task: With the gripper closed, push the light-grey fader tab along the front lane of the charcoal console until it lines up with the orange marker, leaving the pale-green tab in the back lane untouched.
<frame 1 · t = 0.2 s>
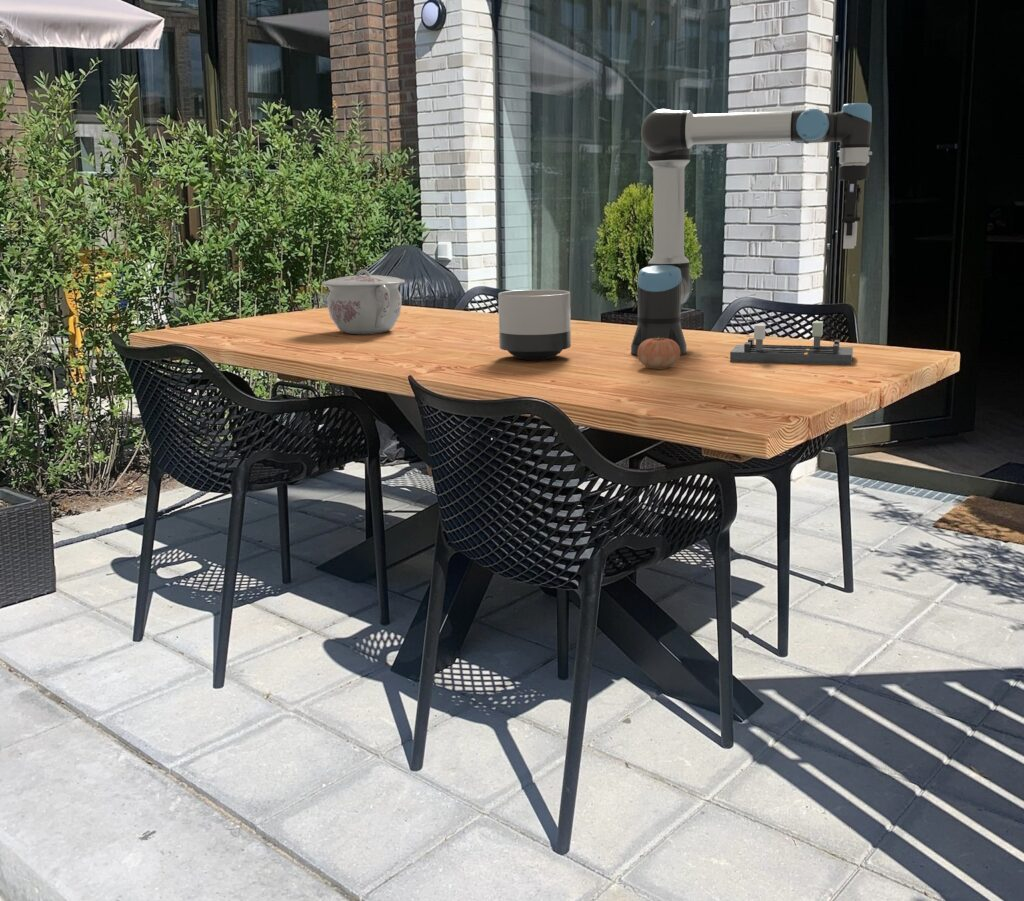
hand: (849, 247, 288), 28 cm above the table, fingers open, 13 cm apart
fader a: (759, 337, 280), point 6 cm above the table, slide at 0.0 cm
fader b: (817, 334, 283), point 6 cm above the table, slide at 0.0 cm
console: (791, 359, 282), on the table
small orange pumpkin: (658, 369, 273), on the table
chamber pot: (366, 332, 359), on the table
planter: (535, 358, 294), on the table
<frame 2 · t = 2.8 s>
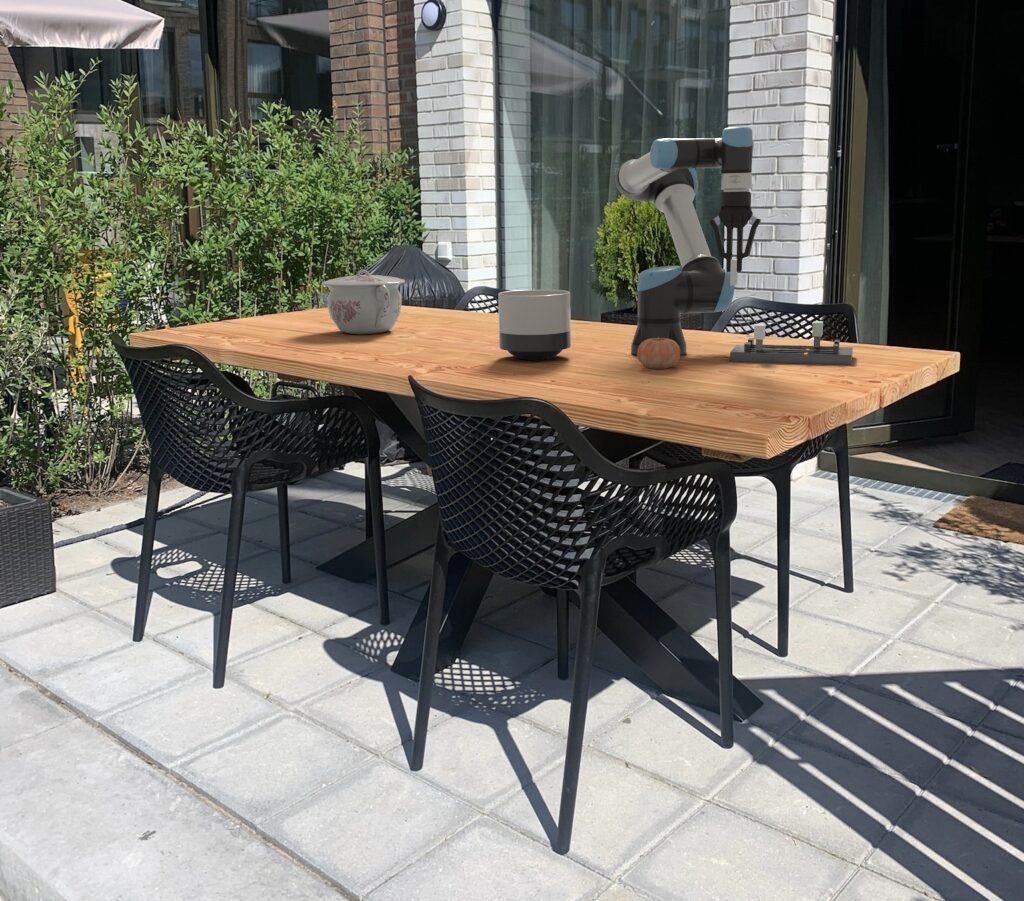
hand: (733, 284, 278), 19 cm above the table, fingers closed
nothing on the table moved.
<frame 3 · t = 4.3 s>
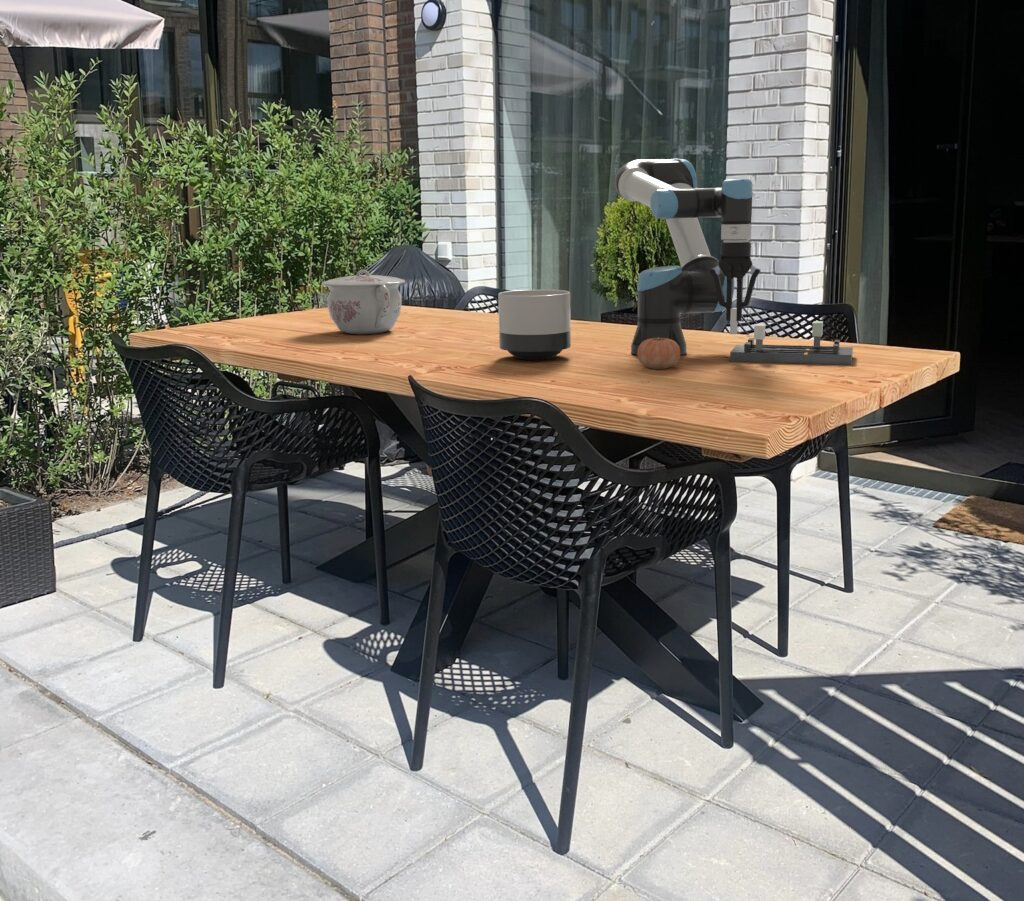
hand: (733, 333, 281), 7 cm above the table, fingers closed
nothing on the table moved.
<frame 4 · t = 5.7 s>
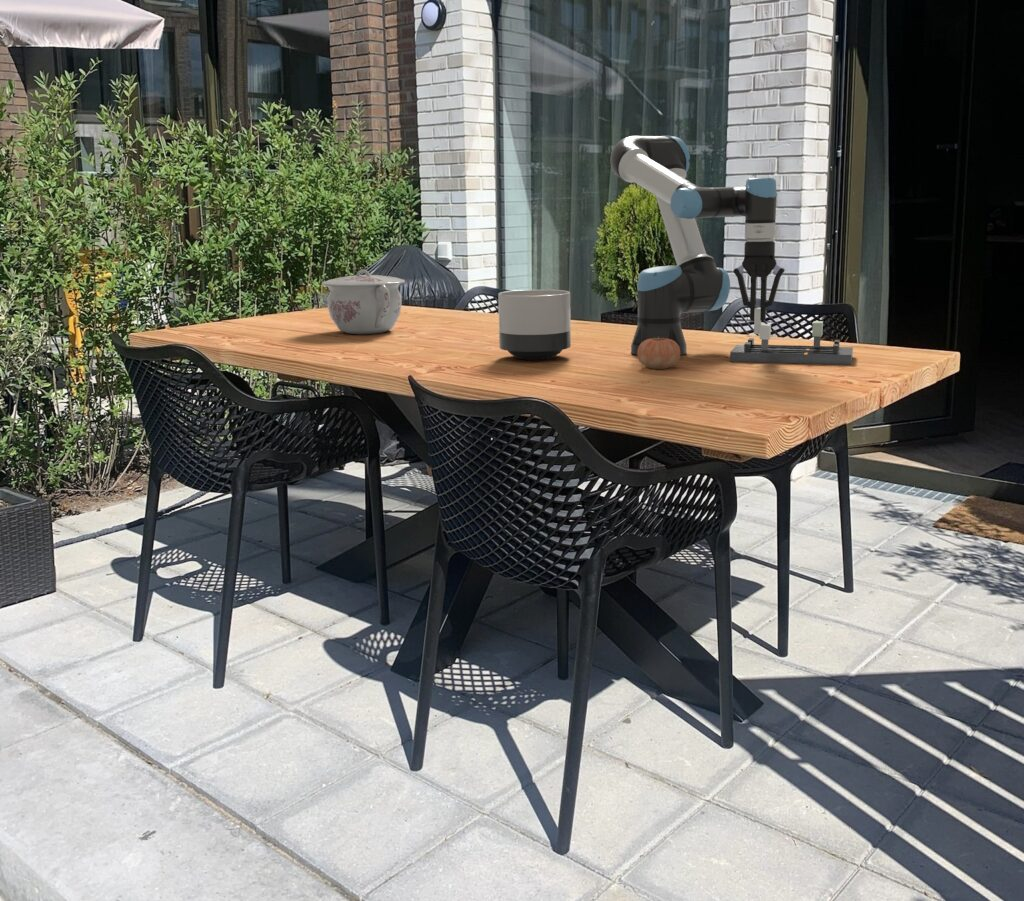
hand: (757, 333, 279), 7 cm above the table, fingers closed
fader a: (765, 337, 279), point 6 cm above the table, slide at 1.4 cm, touching gripper
everything else where it was.
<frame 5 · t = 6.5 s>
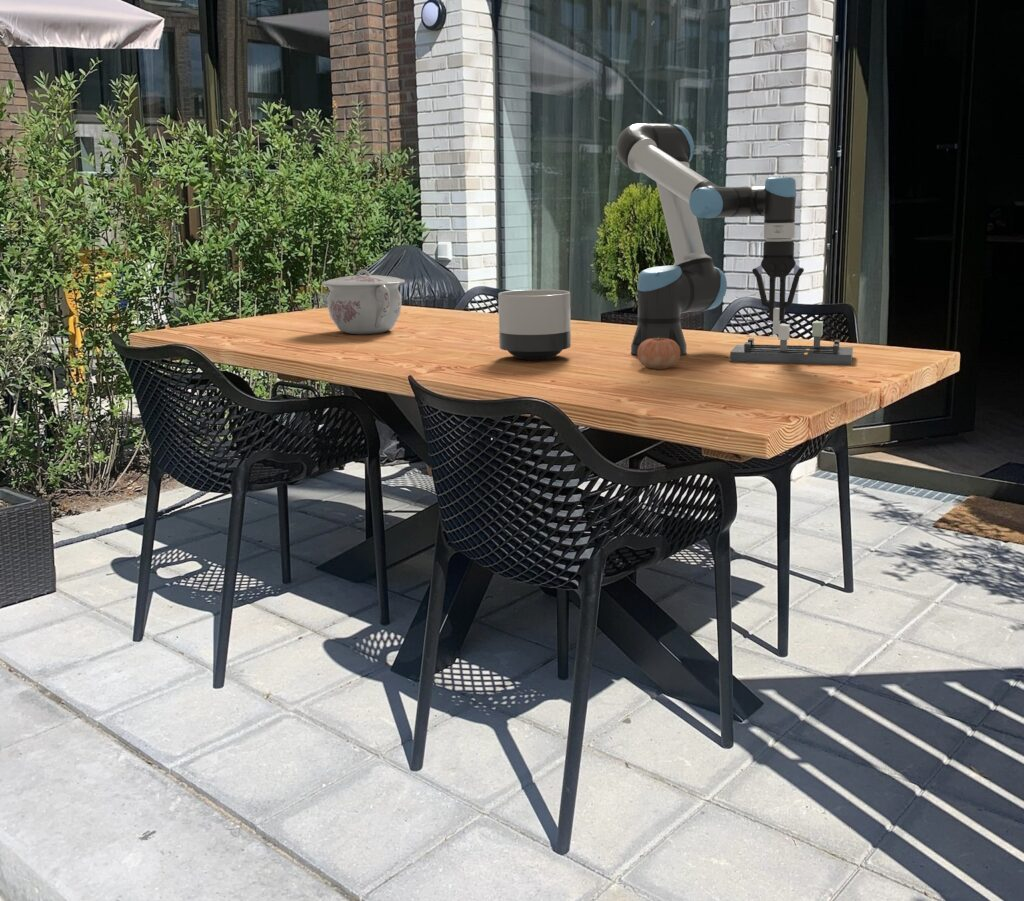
hand: (776, 333, 278), 7 cm above the table, fingers closed
fader a: (783, 337, 278), point 6 cm above the table, slide at 6.1 cm, touching gripper
everything else where it was.
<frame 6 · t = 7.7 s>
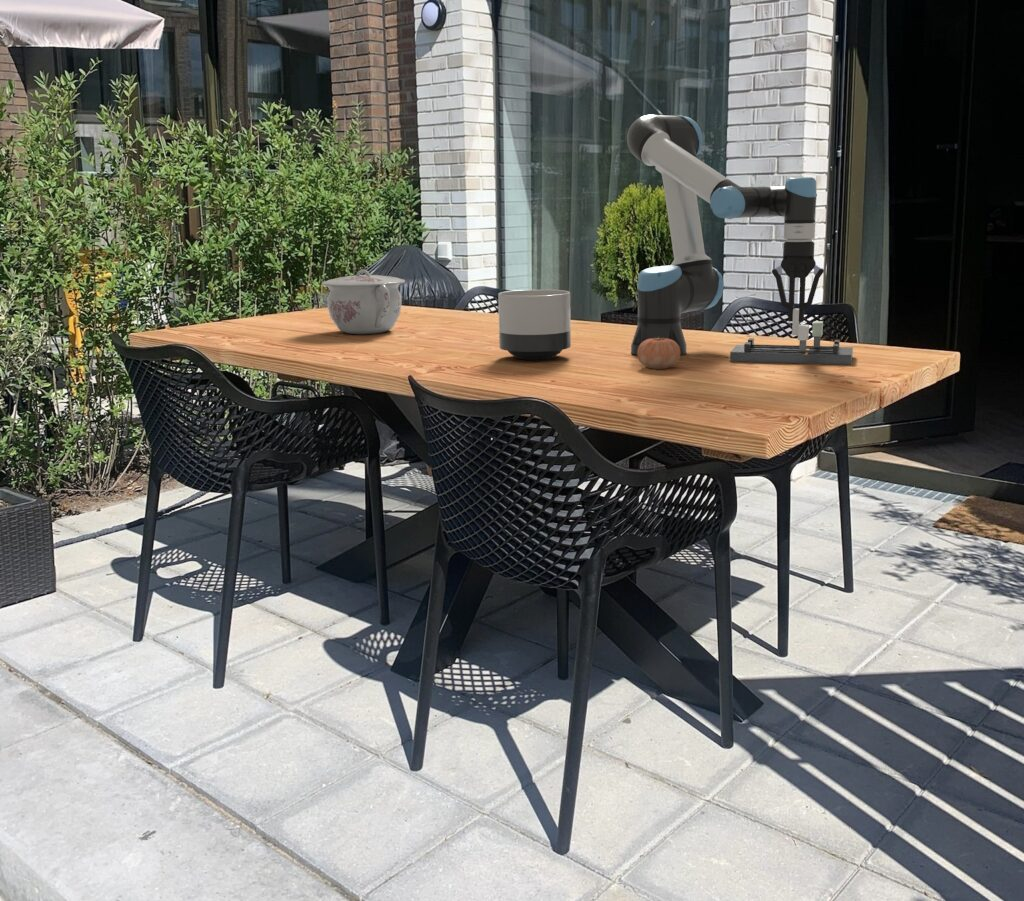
hand: (795, 334, 276), 7 cm above the table, fingers closed
fader a: (803, 338, 276), point 6 cm above the table, slide at 10.9 cm, touching gripper
everything else where it was.
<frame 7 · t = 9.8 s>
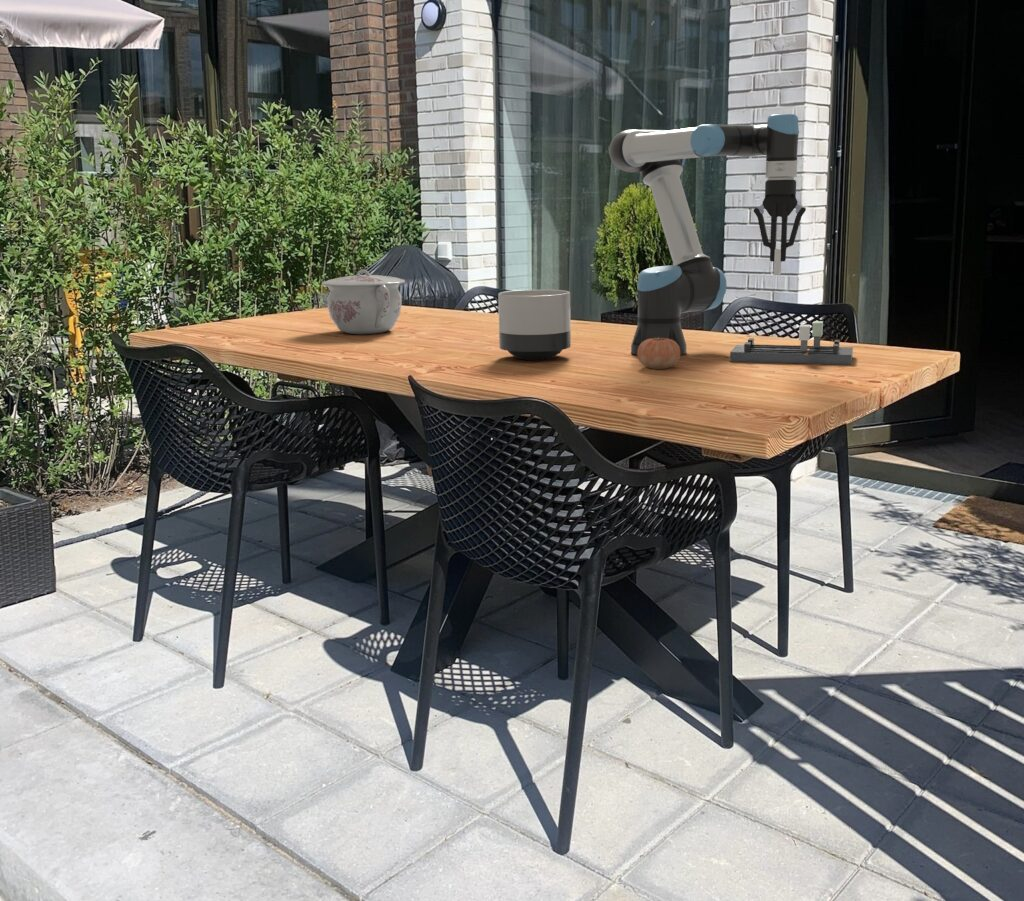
hand: (777, 274, 275), 22 cm above the table, fingers closed
fader a: (804, 338, 276), point 6 cm above the table, slide at 11.2 cm
everything else where it was.
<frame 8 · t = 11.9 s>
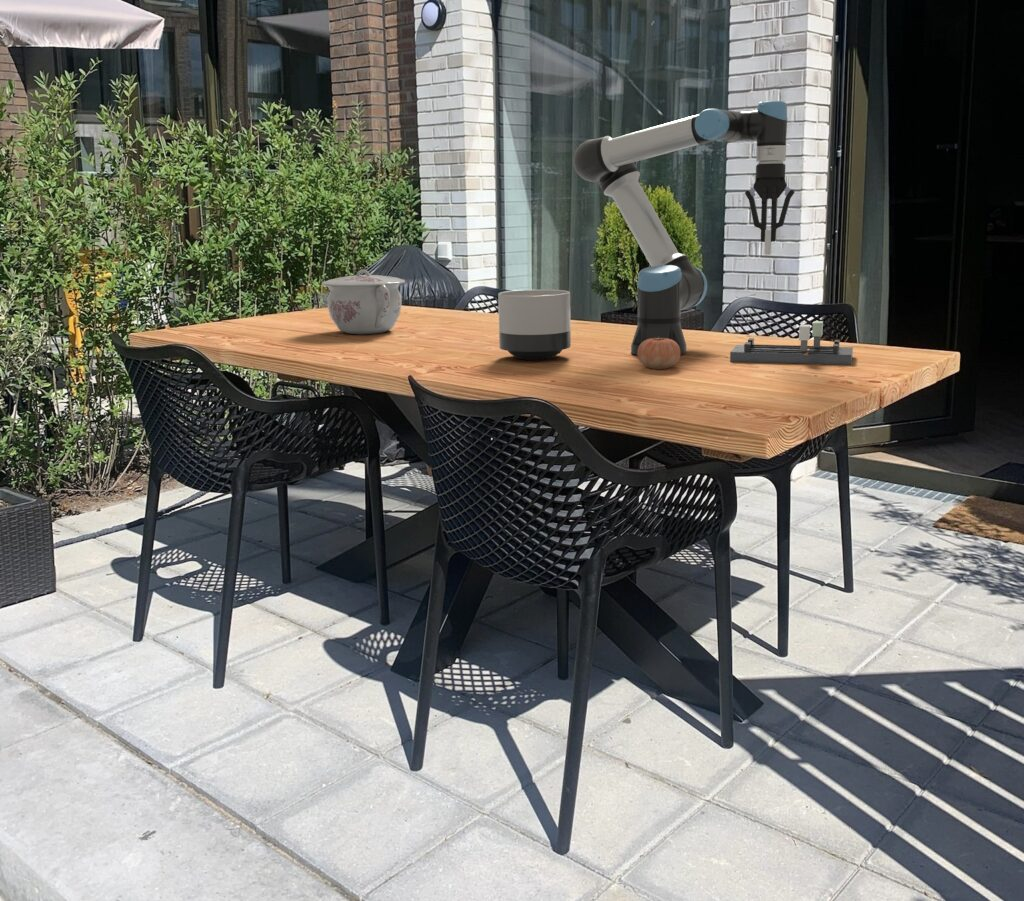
hand: (767, 254, 289), 26 cm above the table, fingers closed
nothing on the table moved.
at the end: fader a slide at 11.2 cm; fader b slide at 0.0 cm; fader a touching nothing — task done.
